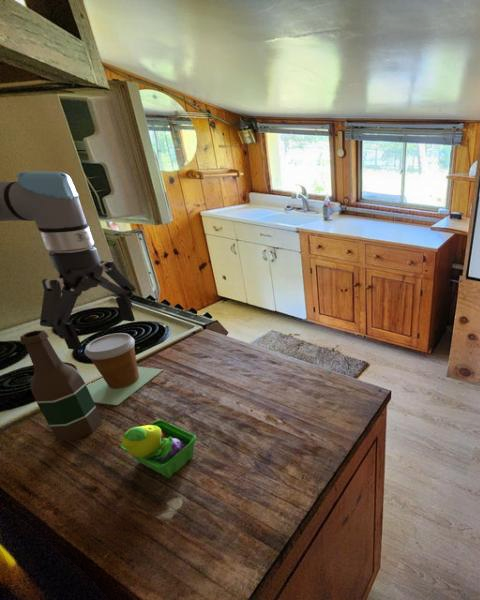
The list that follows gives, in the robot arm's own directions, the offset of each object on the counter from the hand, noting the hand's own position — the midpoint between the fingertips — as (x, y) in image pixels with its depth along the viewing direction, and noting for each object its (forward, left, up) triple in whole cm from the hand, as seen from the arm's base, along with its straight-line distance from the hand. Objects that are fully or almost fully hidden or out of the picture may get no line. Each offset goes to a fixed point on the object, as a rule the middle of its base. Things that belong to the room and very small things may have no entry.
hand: (104, 333), depth 79 cm
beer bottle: (+5, -15, -15) cm, 22 cm away
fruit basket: (+28, -20, -15) cm, 38 cm away
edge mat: (-1, -1, -15) cm, 15 cm away
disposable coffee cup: (0, 0, -15) cm, 15 cm away
